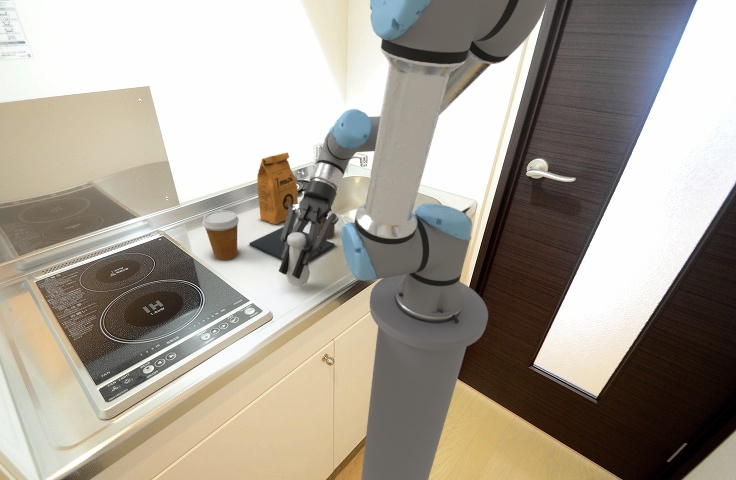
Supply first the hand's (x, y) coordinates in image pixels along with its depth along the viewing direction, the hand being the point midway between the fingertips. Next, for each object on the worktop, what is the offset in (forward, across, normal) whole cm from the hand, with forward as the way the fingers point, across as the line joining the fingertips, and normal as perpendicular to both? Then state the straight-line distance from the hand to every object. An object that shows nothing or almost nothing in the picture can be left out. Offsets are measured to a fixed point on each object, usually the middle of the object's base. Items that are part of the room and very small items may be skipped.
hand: (289, 274), depth 86 cm
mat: (-11, +13, -19) cm, 26 cm away
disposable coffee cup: (-1, +27, -10) cm, 29 cm away
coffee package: (-22, +28, -30) cm, 46 cm away
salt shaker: (0, 0, -6) cm, 6 cm away
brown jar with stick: (-19, +8, -28) cm, 34 cm away
